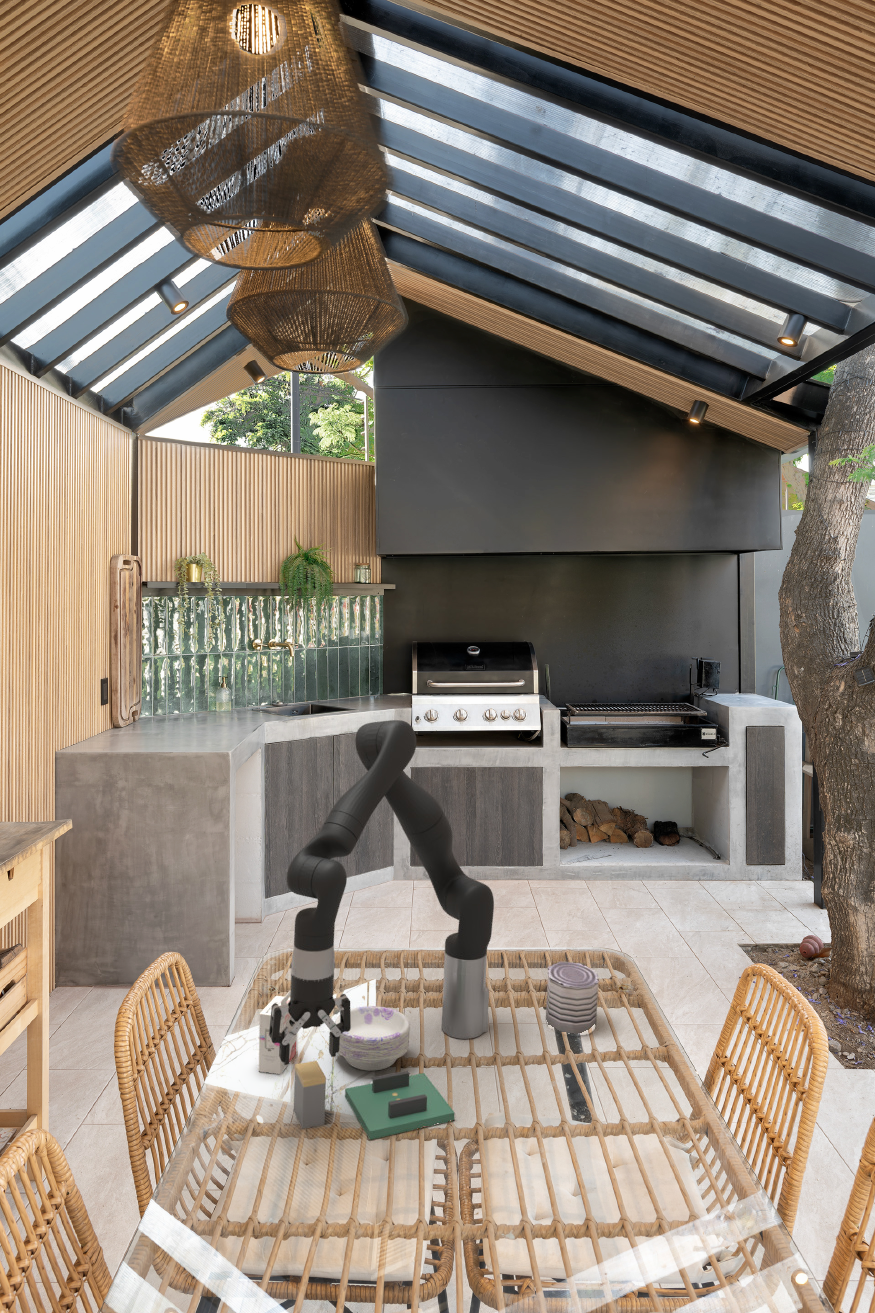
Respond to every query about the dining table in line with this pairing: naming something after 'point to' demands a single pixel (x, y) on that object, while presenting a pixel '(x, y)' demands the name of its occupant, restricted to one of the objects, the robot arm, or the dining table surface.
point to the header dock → (397, 1104)
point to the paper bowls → (374, 1037)
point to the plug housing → (309, 1094)
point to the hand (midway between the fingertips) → (309, 1058)
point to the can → (571, 997)
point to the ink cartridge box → (267, 1048)
